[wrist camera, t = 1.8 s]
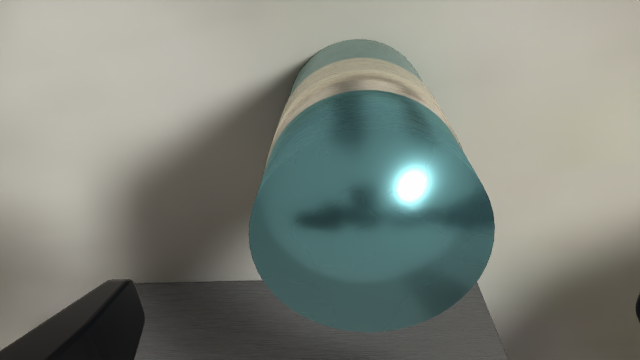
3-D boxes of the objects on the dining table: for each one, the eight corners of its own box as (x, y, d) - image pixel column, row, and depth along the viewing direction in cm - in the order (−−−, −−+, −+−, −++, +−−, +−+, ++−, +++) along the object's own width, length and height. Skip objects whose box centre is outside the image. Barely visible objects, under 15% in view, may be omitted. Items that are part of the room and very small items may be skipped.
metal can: (429, 33, 16) (512, 120, 8) (423, 167, 18) (483, 332, 10) (281, 42, 16) (228, 133, 8) (294, 172, 18) (262, 335, 11)
